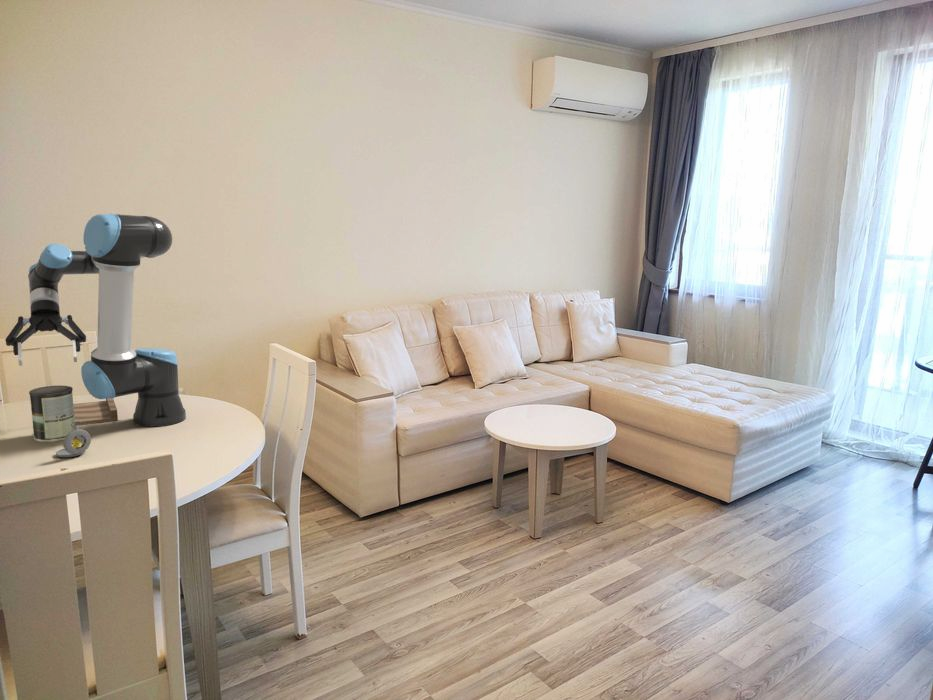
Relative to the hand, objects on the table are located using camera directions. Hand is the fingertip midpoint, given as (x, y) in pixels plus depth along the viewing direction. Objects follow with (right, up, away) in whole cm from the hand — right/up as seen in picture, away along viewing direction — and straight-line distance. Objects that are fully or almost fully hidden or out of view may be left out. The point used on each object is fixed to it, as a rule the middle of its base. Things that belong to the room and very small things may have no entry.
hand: (48, 361), depth 181 cm
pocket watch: (+20, -25, -20) cm, 38 cm away
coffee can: (+6, -22, -5) cm, 23 cm away
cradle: (+1, -18, +16) cm, 24 cm away
